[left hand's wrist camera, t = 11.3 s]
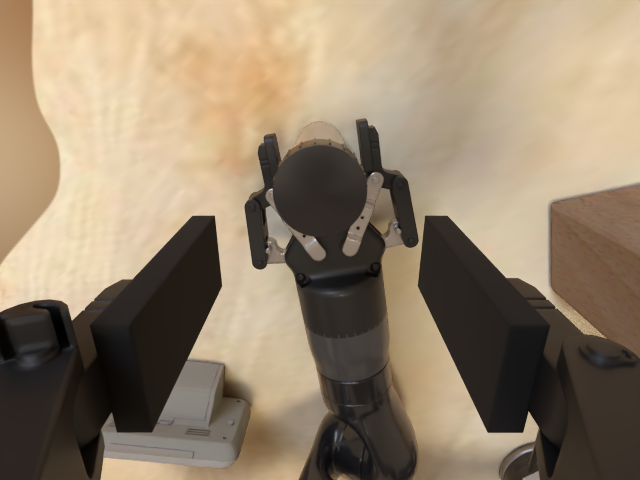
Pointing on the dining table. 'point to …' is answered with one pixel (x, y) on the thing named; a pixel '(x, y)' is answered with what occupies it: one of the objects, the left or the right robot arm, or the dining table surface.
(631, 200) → the wooden block
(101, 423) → the left robot arm
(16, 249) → the dining table surface
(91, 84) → the dining table surface
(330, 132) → the blue-grey cylinder
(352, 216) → the lid
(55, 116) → the dining table surface
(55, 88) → the dining table surface
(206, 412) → the digital clock
